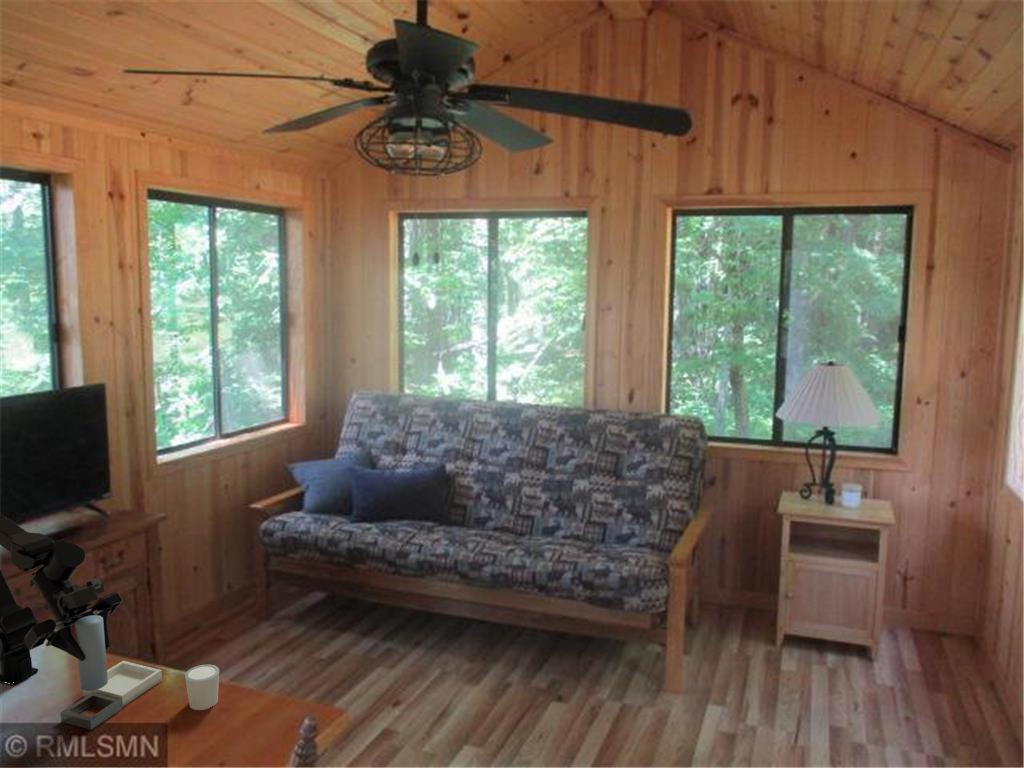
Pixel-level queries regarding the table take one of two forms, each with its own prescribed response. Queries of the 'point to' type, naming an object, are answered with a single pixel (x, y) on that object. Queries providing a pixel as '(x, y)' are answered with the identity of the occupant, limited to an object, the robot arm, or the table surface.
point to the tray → (128, 681)
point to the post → (92, 652)
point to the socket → (90, 723)
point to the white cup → (202, 686)
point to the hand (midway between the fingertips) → (96, 653)
